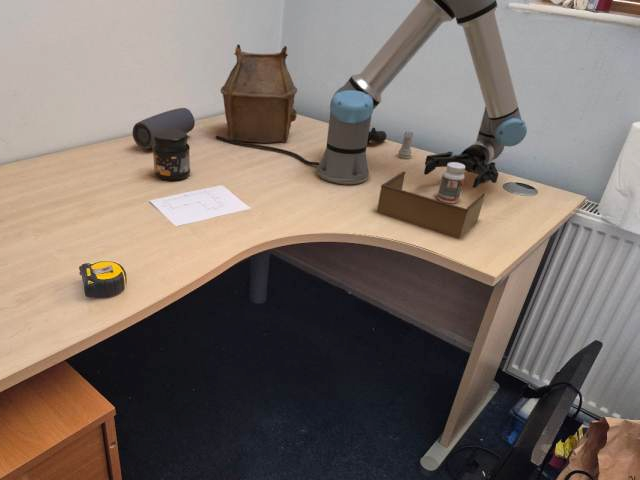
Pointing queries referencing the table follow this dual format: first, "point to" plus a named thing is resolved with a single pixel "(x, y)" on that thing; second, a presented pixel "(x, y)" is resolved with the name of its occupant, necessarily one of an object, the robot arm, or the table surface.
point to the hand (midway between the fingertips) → (449, 176)
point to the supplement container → (171, 155)
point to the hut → (259, 98)
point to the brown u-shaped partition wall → (427, 209)
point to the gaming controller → (376, 136)
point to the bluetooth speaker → (162, 125)
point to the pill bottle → (451, 183)
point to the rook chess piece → (406, 146)
